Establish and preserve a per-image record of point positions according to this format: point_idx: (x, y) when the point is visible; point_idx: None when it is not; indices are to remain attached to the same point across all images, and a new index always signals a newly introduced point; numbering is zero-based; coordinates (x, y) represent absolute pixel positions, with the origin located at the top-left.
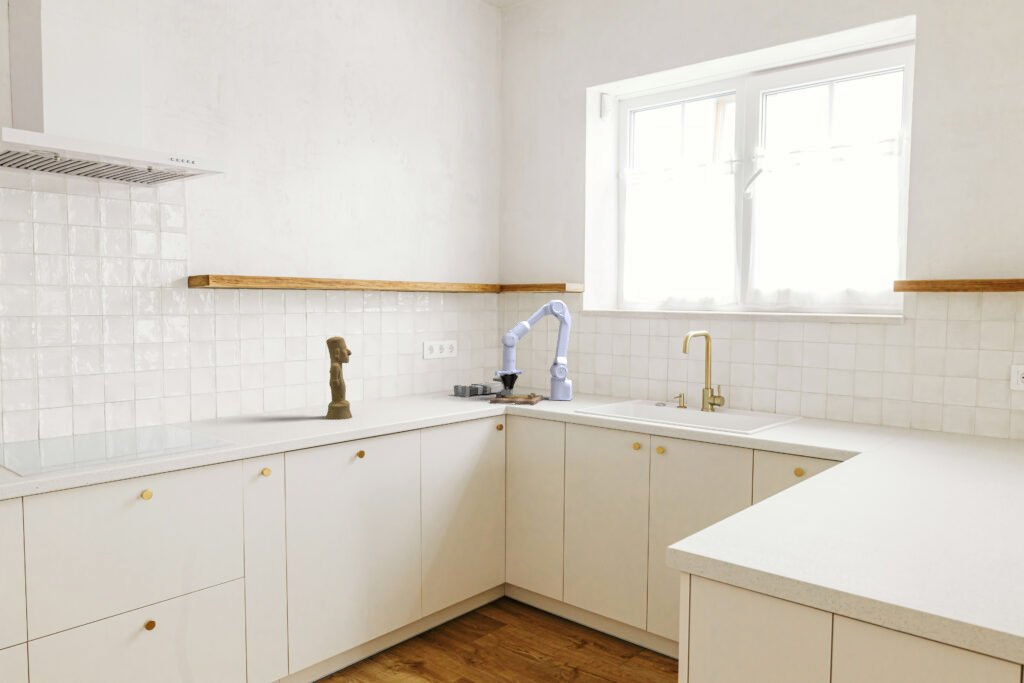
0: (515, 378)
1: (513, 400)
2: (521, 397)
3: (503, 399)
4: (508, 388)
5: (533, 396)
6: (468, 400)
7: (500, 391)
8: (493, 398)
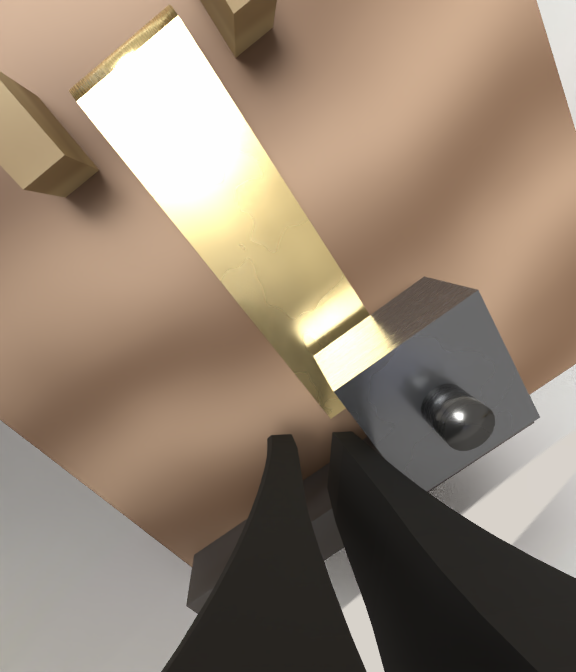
0: (269, 654)
1: (539, 68)
2: (283, 187)
3: (538, 246)
4: (443, 397)
5: (50, 115)
6: (555, 532)
7: (343, 546)
8: (536, 380)
